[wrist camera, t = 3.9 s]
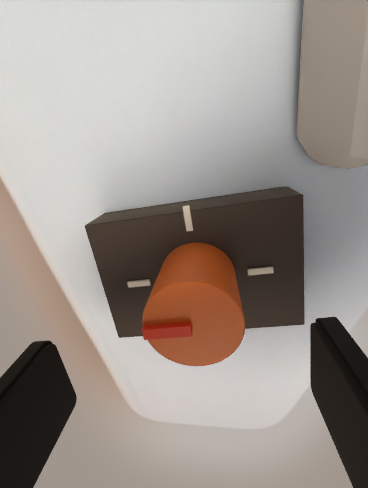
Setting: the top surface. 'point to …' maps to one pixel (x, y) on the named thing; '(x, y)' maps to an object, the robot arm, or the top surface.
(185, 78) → the top surface
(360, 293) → the top surface
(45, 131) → the top surface
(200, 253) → the dial knob
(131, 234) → the dial block
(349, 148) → the tube
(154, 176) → the top surface
